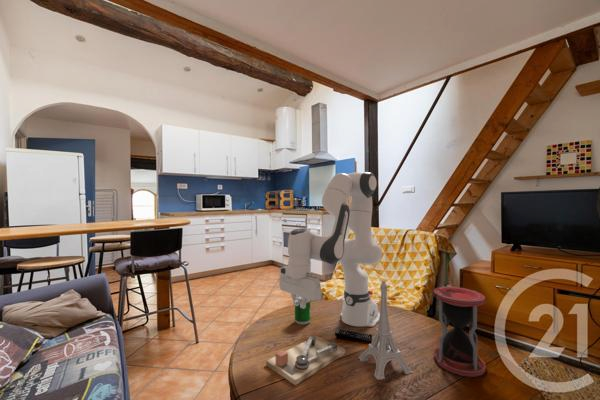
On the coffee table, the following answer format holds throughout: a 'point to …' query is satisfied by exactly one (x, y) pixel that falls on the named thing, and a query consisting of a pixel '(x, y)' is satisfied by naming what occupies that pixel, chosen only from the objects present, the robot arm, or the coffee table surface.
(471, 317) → the hourglass
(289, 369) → the board
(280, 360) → the salmon pink block
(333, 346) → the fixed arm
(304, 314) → the soda can
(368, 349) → the eiffel tower
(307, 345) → the tong arm
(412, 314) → the coffee table surface
